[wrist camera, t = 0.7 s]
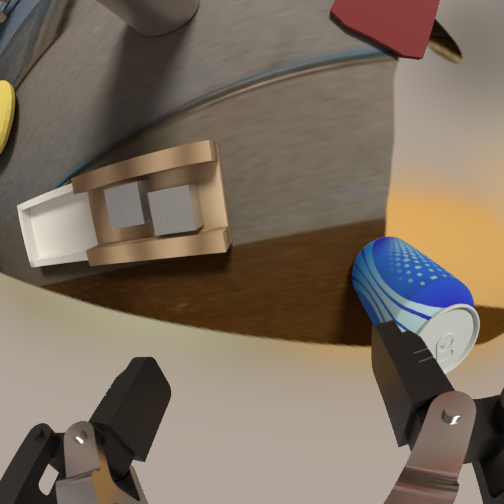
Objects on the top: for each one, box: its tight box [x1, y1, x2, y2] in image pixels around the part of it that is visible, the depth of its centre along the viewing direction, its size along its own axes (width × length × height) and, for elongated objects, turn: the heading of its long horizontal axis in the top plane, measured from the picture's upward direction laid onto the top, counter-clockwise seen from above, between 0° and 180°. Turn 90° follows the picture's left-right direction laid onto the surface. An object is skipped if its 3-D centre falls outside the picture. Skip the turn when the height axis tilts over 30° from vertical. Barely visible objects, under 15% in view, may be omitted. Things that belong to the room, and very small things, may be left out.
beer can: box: [352, 237, 480, 374], centre depth 22 cm, size 8×8×16 cm
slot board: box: [71, 140, 233, 266], centre depth 28 cm, size 18×11×4 cm, turn 98°
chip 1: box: [104, 180, 152, 230], centre depth 28 cm, size 4×4×3 cm
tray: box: [17, 183, 98, 267], centre depth 31 cm, size 15×10×3 cm, turn 98°
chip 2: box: [148, 183, 204, 236], centre depth 27 cm, size 4×4×3 cm
